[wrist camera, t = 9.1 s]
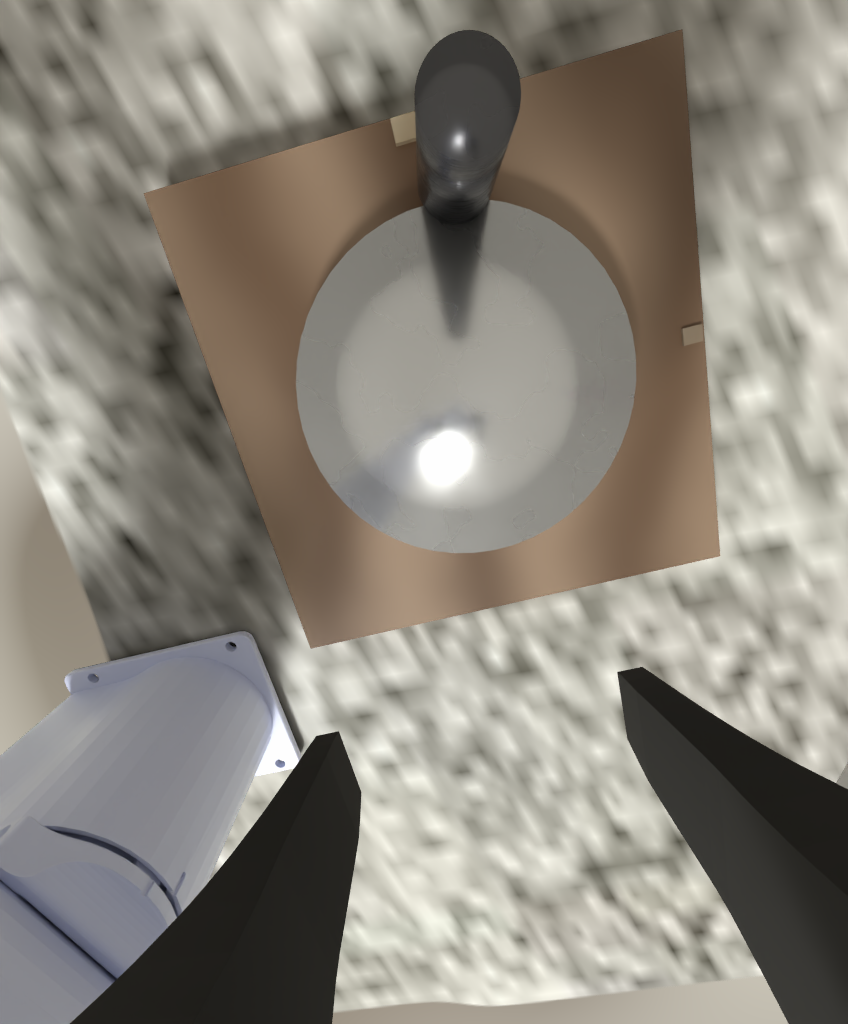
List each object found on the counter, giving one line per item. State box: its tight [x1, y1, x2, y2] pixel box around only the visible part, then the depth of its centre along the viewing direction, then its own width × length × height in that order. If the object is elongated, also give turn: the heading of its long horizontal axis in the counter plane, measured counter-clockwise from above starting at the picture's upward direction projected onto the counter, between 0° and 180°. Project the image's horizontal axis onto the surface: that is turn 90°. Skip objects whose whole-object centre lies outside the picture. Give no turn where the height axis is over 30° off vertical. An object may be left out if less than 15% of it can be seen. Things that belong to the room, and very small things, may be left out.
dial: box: [296, 30, 636, 553], centre depth 14 cm, size 14×12×5 cm
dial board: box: [144, 30, 720, 648], centre depth 17 cm, size 18×18×2 cm
